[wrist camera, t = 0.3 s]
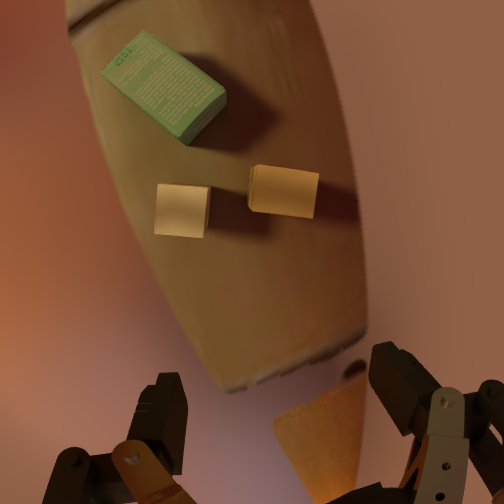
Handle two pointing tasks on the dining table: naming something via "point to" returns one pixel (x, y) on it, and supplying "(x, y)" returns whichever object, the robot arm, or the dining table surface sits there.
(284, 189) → the oak pillar
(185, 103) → the box
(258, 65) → the dining table surface
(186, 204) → the birch pillar
